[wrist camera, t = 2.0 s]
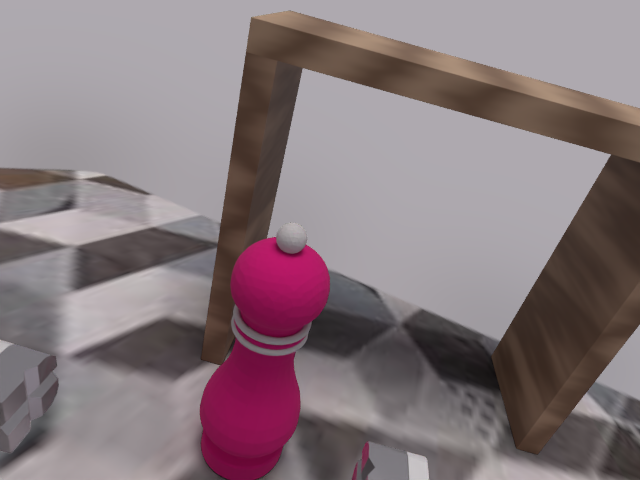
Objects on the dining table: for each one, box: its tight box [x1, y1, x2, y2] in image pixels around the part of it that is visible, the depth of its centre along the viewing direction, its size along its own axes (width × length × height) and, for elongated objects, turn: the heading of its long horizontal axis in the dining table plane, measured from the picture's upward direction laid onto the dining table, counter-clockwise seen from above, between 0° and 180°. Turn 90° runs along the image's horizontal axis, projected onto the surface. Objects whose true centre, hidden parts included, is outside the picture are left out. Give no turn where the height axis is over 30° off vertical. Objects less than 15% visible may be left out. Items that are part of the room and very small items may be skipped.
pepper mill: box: [200, 223, 330, 480], centre depth 30 cm, size 7×7×20 cm
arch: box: [201, 11, 640, 455], centre depth 39 cm, size 32×12×29 cm, turn 82°
